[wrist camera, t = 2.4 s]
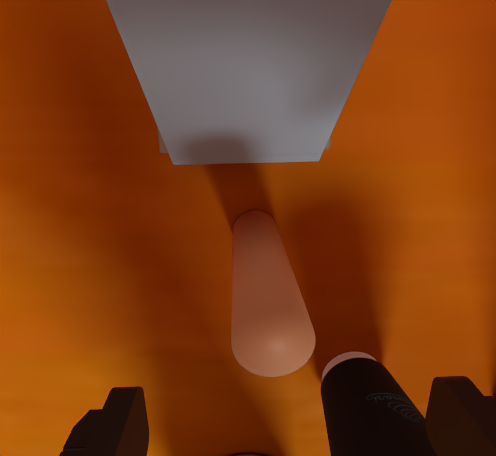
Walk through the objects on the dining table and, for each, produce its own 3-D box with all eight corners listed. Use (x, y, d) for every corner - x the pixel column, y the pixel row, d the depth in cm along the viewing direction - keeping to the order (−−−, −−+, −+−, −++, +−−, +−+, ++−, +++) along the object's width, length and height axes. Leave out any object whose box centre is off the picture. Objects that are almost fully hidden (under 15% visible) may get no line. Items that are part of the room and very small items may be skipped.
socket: (315, 149, 22) (428, 208, 9) (171, 153, 22) (80, 218, 9) (325, -87, 18) (541, -555, 5) (150, -86, 18) (-61, -574, 5)
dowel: (250, 259, 25) (263, 390, 13) (223, 227, 24) (213, 336, 12) (285, 235, 24) (331, 349, 13) (260, 201, 23) (284, 289, 12)
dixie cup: (313, 424, 30) (355, 596, 19) (291, 348, 27) (326, 498, 17) (406, 402, 29) (502, 565, 19) (393, 322, 27) (495, 460, 16)
